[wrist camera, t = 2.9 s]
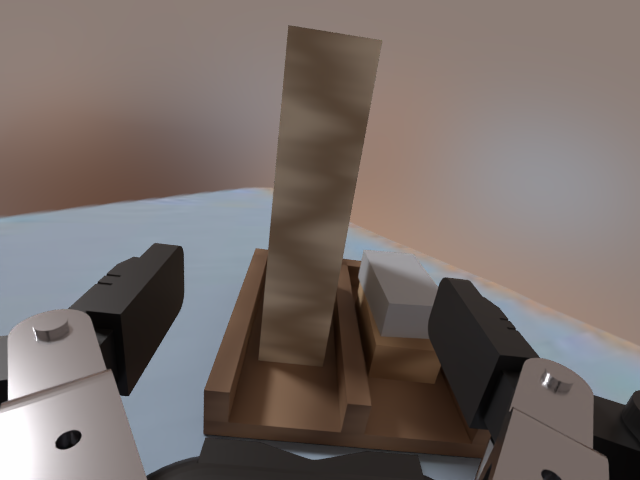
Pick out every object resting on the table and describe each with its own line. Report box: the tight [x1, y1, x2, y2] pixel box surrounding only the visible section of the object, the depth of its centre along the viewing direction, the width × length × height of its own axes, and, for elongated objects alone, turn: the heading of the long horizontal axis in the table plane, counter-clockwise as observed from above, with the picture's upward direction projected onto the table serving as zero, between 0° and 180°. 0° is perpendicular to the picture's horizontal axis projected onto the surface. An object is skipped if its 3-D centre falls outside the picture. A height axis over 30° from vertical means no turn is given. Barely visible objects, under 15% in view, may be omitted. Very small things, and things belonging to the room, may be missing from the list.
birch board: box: [258, 26, 382, 367], centre depth 22 cm, size 4×7×18 cm, turn 1°
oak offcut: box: [355, 283, 441, 384], centre depth 25 cm, size 4×8×2 cm, turn 1°
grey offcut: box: [358, 250, 438, 339], centre depth 25 cm, size 4×7×2 cm, turn 6°
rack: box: [204, 248, 491, 458], centre depth 25 cm, size 15×16×3 cm
